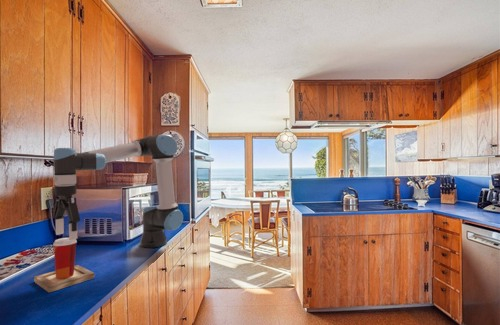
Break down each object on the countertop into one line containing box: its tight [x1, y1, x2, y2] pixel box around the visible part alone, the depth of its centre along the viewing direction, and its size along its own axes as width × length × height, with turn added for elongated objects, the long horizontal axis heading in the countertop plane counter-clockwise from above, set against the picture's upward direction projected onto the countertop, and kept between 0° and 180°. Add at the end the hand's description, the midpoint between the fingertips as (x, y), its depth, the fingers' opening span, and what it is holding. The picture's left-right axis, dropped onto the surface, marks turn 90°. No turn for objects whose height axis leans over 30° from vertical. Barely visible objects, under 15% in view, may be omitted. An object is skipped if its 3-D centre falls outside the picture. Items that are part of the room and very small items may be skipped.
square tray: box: [33, 264, 95, 293], centre depth 111 cm, size 16×16×2 cm
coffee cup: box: [52, 237, 78, 279], centre depth 111 cm, size 8×8×15 cm
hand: (66, 236), depth 112 cm, fingers open, 13 cm apart
